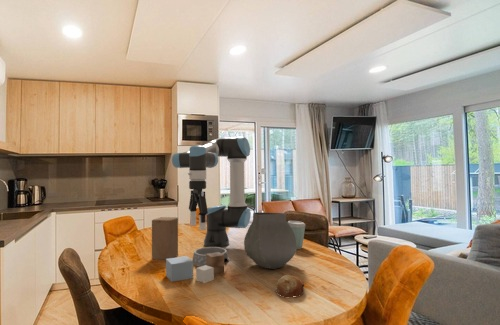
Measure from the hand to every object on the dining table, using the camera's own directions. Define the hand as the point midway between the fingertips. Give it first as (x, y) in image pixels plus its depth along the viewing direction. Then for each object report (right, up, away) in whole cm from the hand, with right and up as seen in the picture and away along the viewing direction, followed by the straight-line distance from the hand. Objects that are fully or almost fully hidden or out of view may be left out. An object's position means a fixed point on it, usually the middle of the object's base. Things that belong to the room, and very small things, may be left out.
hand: (197, 227), depth 139 cm
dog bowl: (+4, -20, +15) cm, 25 cm away
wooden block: (-21, -20, +22) cm, 36 cm away
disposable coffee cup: (+50, -20, +39) cm, 66 cm away
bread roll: (+38, -18, -26) cm, 50 cm away
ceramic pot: (+33, -19, +6) cm, 39 cm away
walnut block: (+8, -19, -3) cm, 21 cm away
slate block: (-6, -19, -8) cm, 21 cm away
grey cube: (+5, -19, -12) cm, 23 cm away
